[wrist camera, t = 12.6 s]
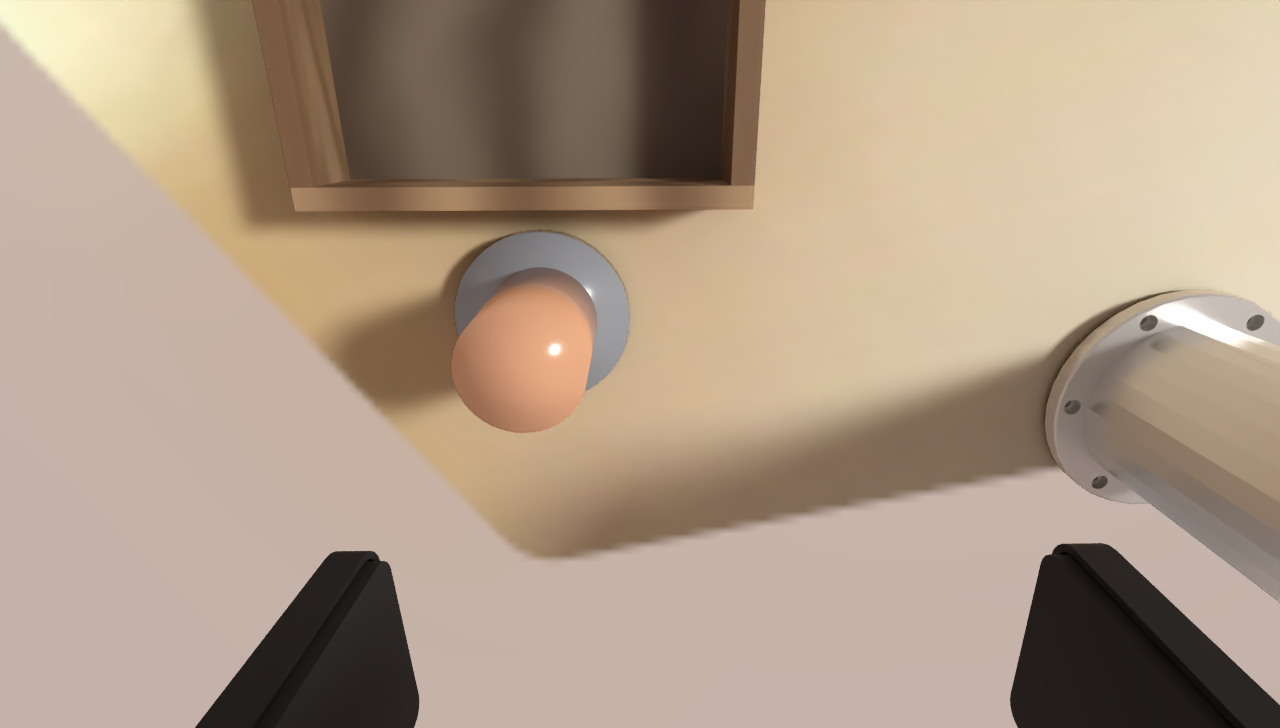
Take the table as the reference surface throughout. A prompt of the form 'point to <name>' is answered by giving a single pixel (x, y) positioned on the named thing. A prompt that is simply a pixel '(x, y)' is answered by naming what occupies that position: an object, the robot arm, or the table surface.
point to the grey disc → (564, 257)
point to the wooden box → (515, 103)
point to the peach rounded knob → (527, 352)
